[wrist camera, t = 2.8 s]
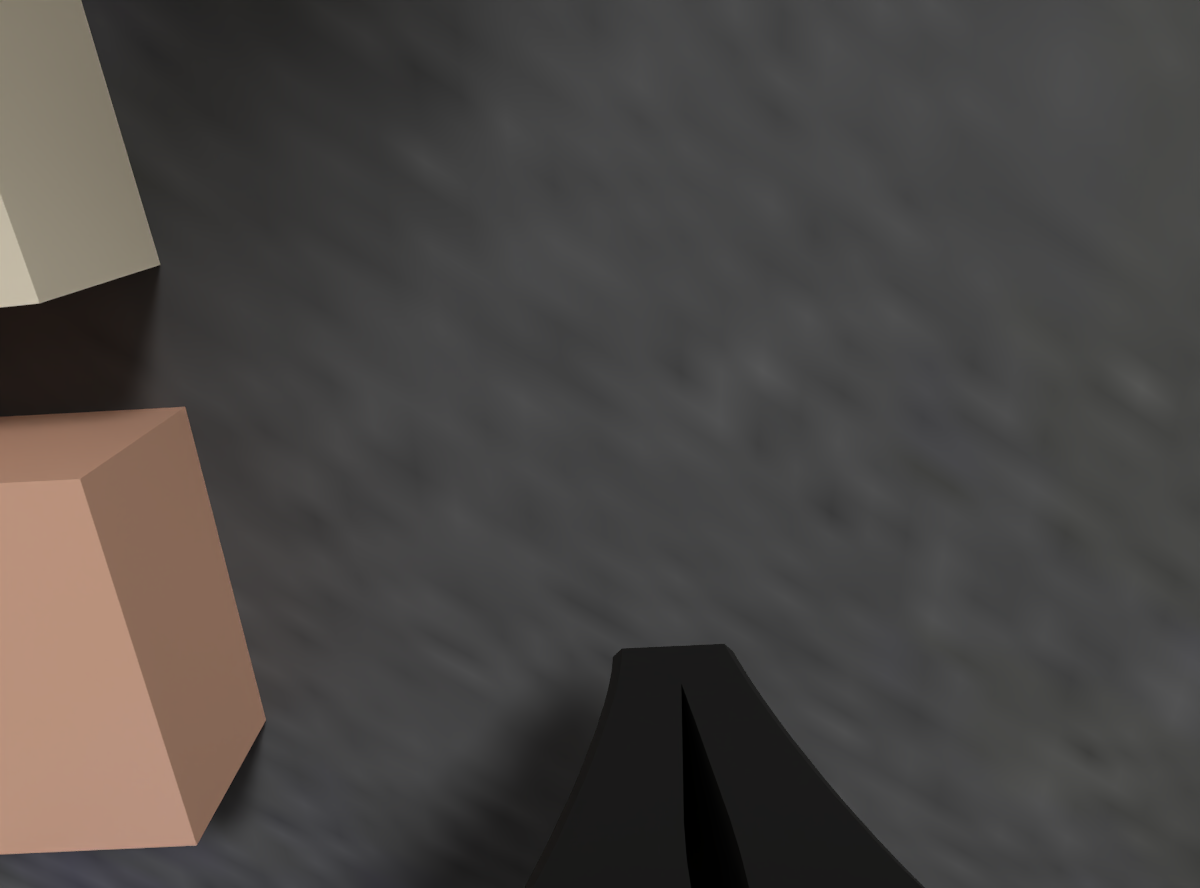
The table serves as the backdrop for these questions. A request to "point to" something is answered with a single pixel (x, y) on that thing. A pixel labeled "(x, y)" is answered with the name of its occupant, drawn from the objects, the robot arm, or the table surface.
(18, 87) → the sand tile
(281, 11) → the table surface
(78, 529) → the terracotta tile
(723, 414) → the table surface
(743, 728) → the robot arm
